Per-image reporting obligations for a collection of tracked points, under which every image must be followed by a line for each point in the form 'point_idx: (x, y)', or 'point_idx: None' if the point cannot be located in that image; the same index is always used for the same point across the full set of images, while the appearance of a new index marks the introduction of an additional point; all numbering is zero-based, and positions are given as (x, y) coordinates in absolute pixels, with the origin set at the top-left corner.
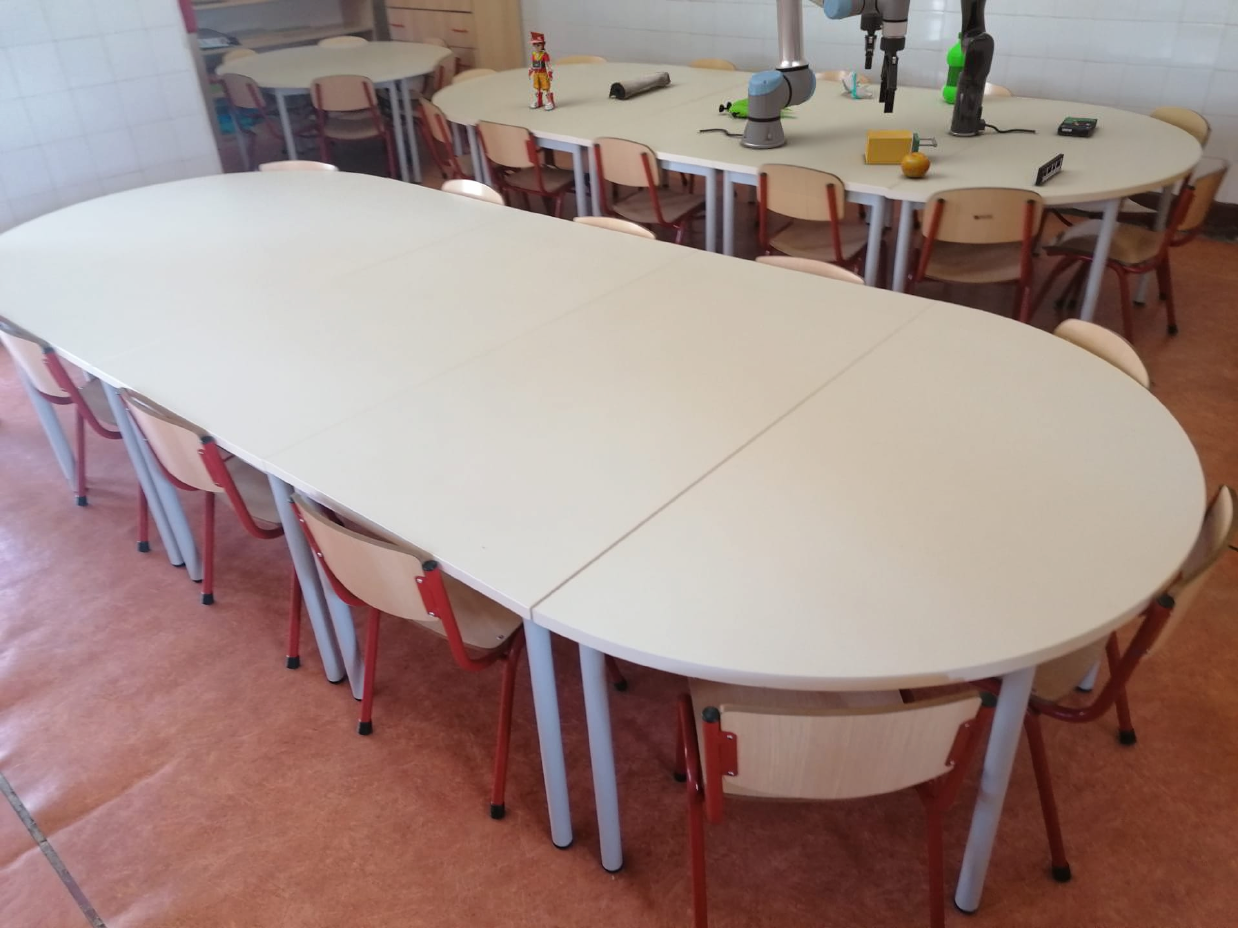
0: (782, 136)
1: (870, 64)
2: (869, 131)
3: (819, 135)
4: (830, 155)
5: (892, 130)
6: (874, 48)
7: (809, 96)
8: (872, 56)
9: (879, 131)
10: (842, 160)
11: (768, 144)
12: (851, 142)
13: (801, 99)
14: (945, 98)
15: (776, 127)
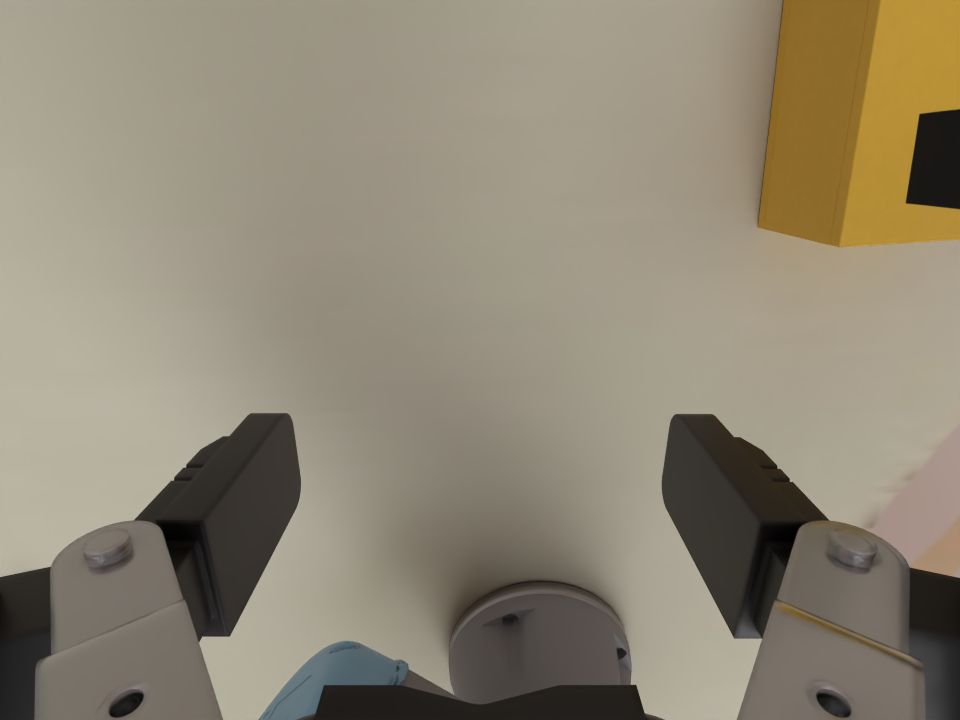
0: (573, 616)
1: (774, 470)
2: (877, 234)
3: (391, 455)
4: (737, 392)
5: (888, 61)
6: (911, 679)
7: (382, 664)
8: (876, 548)
9: (892, 163)
10: (829, 336)
11: (626, 642)
12: (510, 303)
13: (443, 693)
14: None
15: (602, 678)
